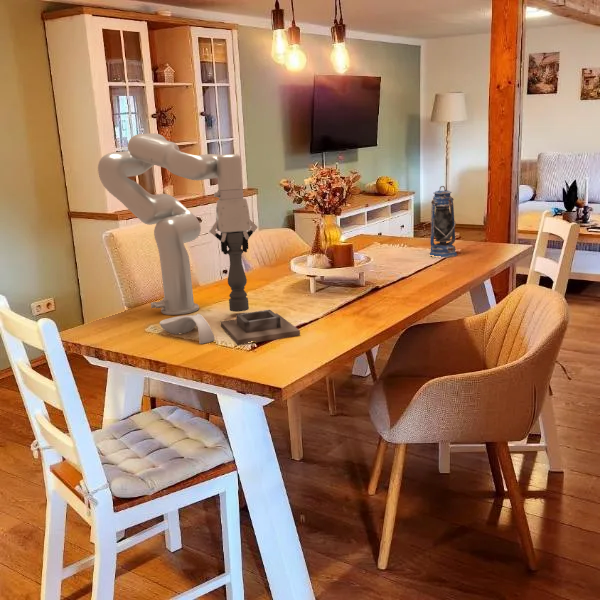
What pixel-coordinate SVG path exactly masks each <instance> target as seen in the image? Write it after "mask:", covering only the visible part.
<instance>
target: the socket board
mask: <svg viewBox="0 0 600 600" xmlns="http://www.w3.org/2000/svg"><path fill="white" fill-rule="evenodd" d="M235 316H236V318H235V319H229V320H222V321H220V327H221V328H222V329H223V330H224V331H225V332H226V334H227V335H230V336H231V337H232V338H231V337H230V336H229V337H230V338H231V339H232V340H233V342H235V343H236V344H237V345H238V346H241V344H242V345H245V344H244V343H248V342H251V341H256V342H255V343H261V342H267V341H273V340H279V339H280V340H281V339H285V338H286V339H287V338H292V337H299V336H301V330H300V329H298V328H297V327H296V326H295V325H293V324H292V323H291V322H289V320H287V319H286V318H284V317H283V316H281V315H280V314H279V313H275V312H273V311H272V309H265V310H258V311H251V312H243V313H237V314H236V315H235Z"/></svg>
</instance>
